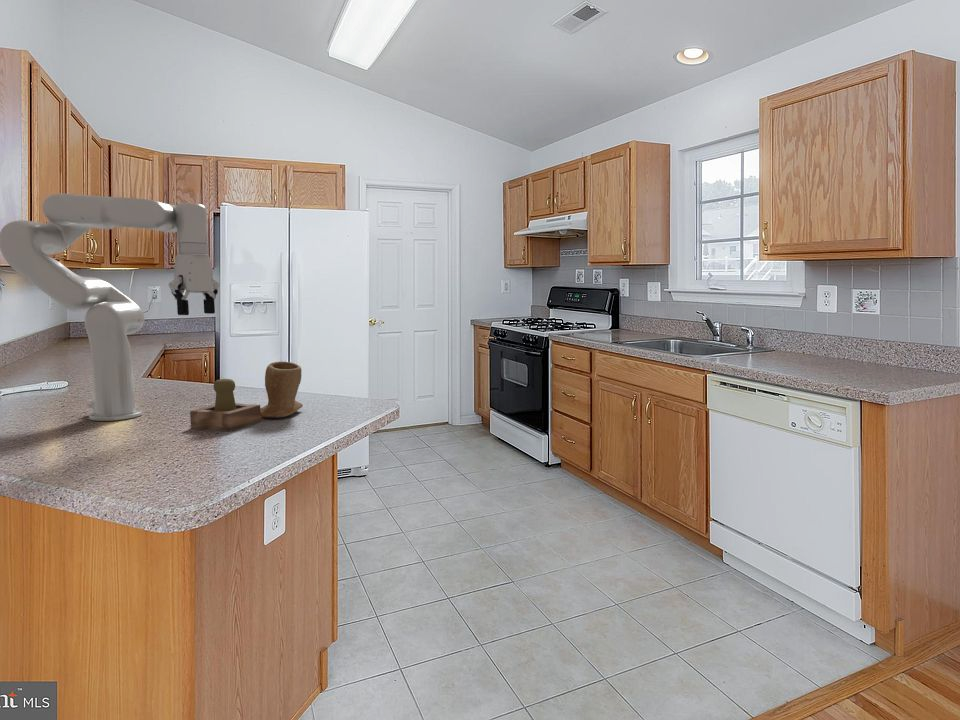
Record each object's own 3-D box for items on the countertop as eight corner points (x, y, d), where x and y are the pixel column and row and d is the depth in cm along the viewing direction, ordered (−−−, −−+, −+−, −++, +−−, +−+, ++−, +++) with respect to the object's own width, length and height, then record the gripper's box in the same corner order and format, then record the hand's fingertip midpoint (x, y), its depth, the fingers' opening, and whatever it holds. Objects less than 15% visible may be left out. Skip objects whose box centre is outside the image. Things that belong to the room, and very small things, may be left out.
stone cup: (292, 421, 165) (290, 365, 163) (250, 420, 166) (248, 365, 164) (313, 410, 180) (312, 359, 178) (274, 409, 181) (272, 358, 179)
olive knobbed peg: (229, 424, 157) (227, 381, 156) (208, 422, 158) (206, 380, 157) (243, 419, 163) (241, 377, 162) (222, 418, 164) (220, 377, 163)
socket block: (190, 428, 157) (189, 410, 156) (223, 418, 168) (222, 402, 167) (230, 431, 153) (229, 413, 152) (261, 421, 164) (260, 404, 164)
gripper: (205, 252, 175) (208, 312, 177) (156, 249, 159) (160, 315, 161) (227, 252, 173) (229, 313, 175) (180, 248, 157) (184, 315, 159)
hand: (196, 314), depth 168 cm, fingers open, 9 cm apart
